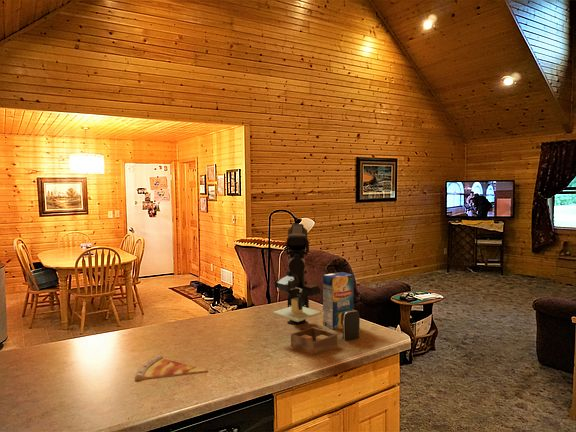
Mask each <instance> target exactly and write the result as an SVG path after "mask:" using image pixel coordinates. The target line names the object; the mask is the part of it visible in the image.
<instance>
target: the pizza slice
mask: <svg viewBox="0 0 576 432" xmlns="http://www.w3.org/2000/svg"><path fill="white" fill-rule="evenodd" d="M208 372H209V370H208V369H205V368H200V367H196V366H193V365H190V364H186V363H182V362H179V361H175V360H171V359H166V358H164V357H163V356H162V355H161V354H157V355H155V356H154V357H151V358H150V359H148V360H147V361H146V362H143V364H142V365H141V366H140V367H139V368H138V369H137V370H136V373H135V375H134V380H135V381H140V380H149V379H156V378H158V379H159V378H165V377H175V376H176V377H177V376H182V375H191V374H192V375H193V374H199V373H200V374H201V373H208Z"/></svg>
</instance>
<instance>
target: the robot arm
mask: <svg viewBox="0 0 576 432" xmlns="http://www.w3.org/2000/svg"><path fill="white" fill-rule="evenodd" d="M309 242H310V241H309V239H308V229H306V227H304V224H302V223H293V224H291V227H290V228H288V230H287V238H286V256H289V260H288V269H289V270H287V272H286V275H285V276H283V277H282V278H279V279H276V280H275V282H274V288H278V289H279V291H282V292H285V293H286V294H287V307H291V299H293V298H298V306H299V310H301V309H302V307H306V308H310V299H309V297H311V296H315V295H319V294H321V287H320V286H319V285H318V284H313V283H311V284H308V281H307V280H305V277H306V275H305V274H308V270H307V269H305V268H306V264H305V259H306V258H305V257H306V256H307V255H308V253H309V252H310V243H309ZM287 323H288V324H290V325H293V326H295V325H296V326H299V325H304V324H308V323H309V322H308V321H307V319H305V320H302V321H299V322H296V321H293V320H290V319H289V320H288V321H287Z"/></svg>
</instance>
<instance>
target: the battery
mask: <svg viewBox="0 0 576 432" xmlns="http://www.w3.org/2000/svg"><path fill="white" fill-rule="evenodd" d="M360 316H361V315H360V312H359V311H358V310H356V309H353V310H347V311H343V312H342V314H341V324H342V325H343V329H342V337H341V340H342V341H345V342H348V341H353V340H354V341H355V340H358V339H360V325H361V324H360V323H361V322H360V321H361V317H360Z"/></svg>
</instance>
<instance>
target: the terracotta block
mask: <svg viewBox="0 0 576 432" xmlns="http://www.w3.org/2000/svg"><path fill="white" fill-rule="evenodd" d="M300 337H303V338H306V339H309V340H312V337H311V336H308V335H303V336H300Z"/></svg>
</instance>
